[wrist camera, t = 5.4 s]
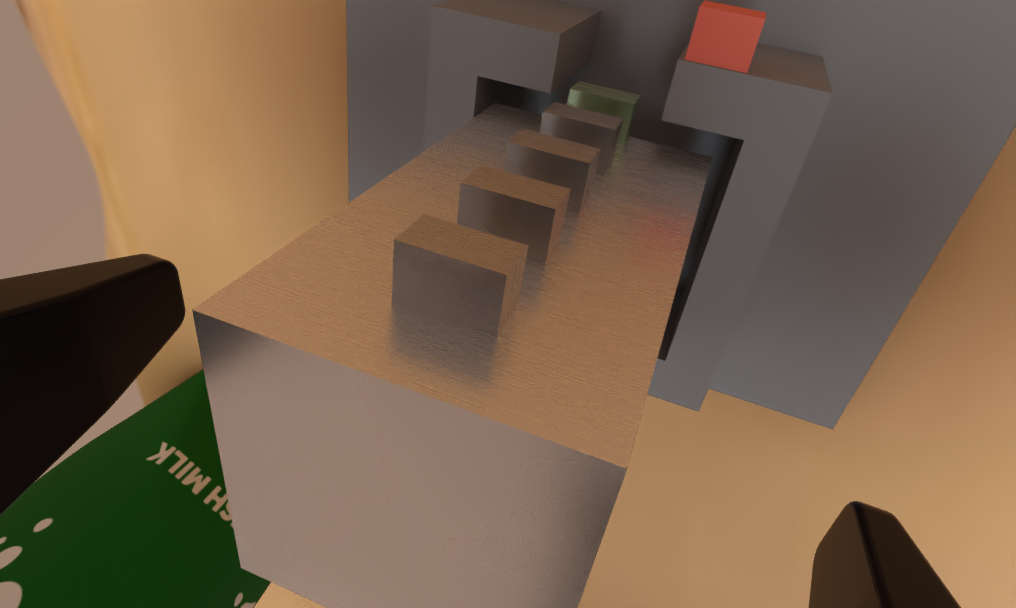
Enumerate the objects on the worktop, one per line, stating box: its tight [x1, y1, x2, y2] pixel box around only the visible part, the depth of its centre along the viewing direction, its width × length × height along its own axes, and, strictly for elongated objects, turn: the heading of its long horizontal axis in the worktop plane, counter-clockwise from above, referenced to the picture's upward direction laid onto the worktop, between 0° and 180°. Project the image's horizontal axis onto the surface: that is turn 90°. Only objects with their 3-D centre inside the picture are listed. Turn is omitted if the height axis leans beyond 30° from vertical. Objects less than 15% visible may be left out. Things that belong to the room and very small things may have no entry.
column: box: [192, 81, 712, 608], centre depth 9 cm, size 5×4×8 cm
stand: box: [346, 0, 1016, 429], centre depth 14 cm, size 10×14×4 cm
